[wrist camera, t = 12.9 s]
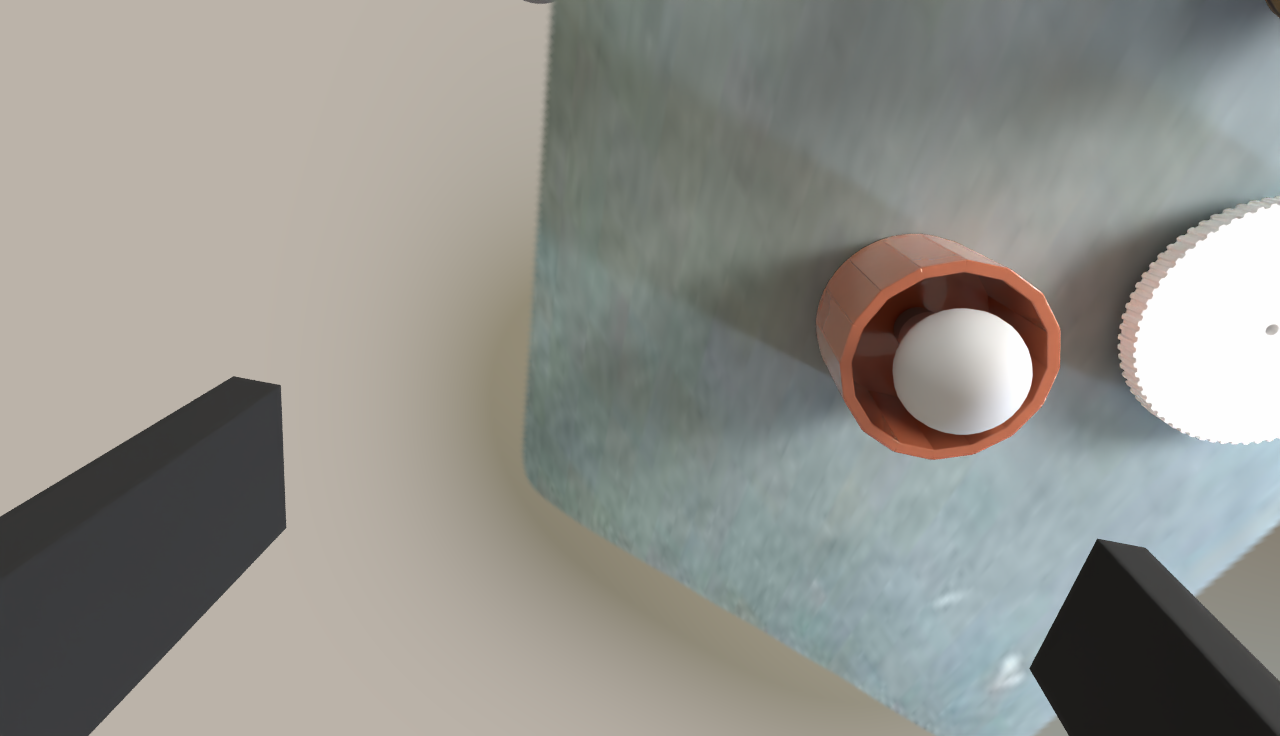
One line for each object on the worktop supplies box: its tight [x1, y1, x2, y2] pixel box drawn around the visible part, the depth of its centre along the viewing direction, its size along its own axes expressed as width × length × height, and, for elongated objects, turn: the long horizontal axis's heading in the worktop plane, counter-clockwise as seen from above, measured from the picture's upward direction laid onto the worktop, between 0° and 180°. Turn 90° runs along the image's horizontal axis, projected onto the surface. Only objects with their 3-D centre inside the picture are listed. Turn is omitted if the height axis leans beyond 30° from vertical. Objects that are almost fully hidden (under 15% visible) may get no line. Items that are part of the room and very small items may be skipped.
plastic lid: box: [1118, 196, 1280, 445], centre depth 38 cm, size 14×14×2 cm
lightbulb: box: [892, 307, 1033, 435], centre depth 35 cm, size 6×6×11 cm
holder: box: [816, 234, 1060, 460], centre depth 37 cm, size 10×10×8 cm
